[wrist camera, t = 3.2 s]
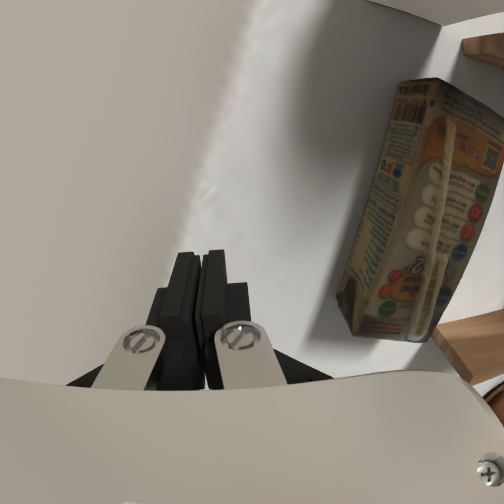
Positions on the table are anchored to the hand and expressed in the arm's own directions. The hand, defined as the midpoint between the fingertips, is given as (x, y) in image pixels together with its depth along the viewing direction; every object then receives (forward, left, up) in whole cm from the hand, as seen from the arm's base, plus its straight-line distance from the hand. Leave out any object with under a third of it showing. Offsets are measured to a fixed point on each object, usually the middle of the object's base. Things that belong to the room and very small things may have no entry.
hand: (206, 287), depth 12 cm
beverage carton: (-1, -15, -13) cm, 19 cm away
